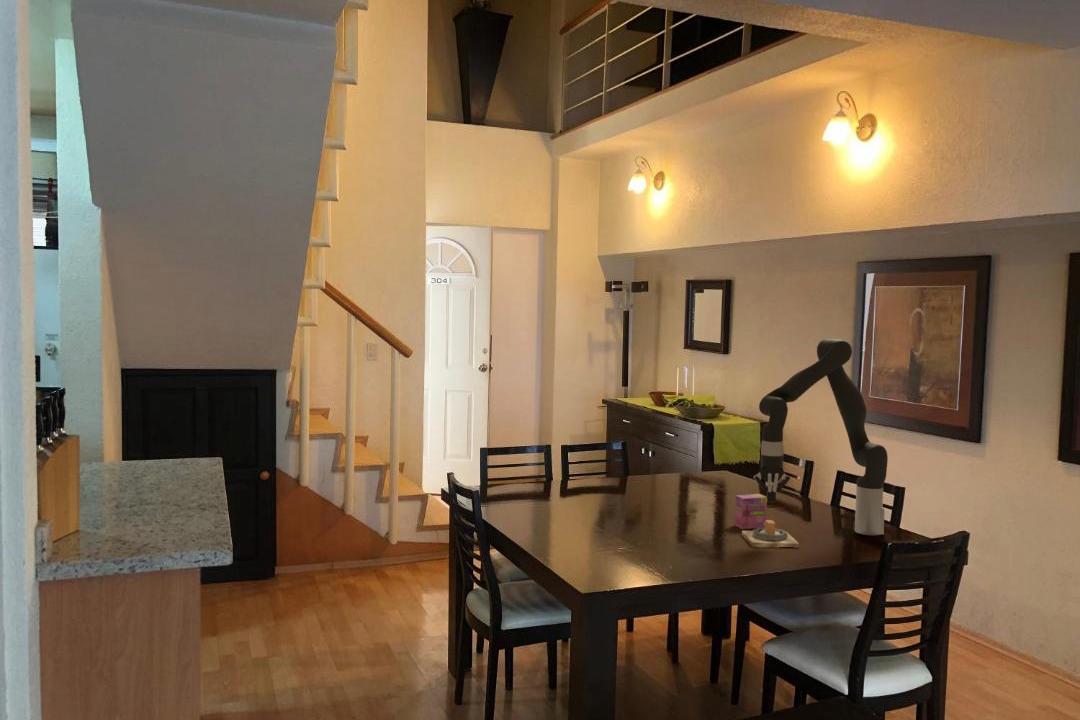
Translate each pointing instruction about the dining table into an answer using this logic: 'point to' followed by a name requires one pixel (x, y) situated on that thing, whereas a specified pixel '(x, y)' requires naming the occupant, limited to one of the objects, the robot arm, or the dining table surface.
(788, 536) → the board
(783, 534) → the grey octagonal ring
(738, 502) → the box
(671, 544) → the dining table surface
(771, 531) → the white disc orange handle
